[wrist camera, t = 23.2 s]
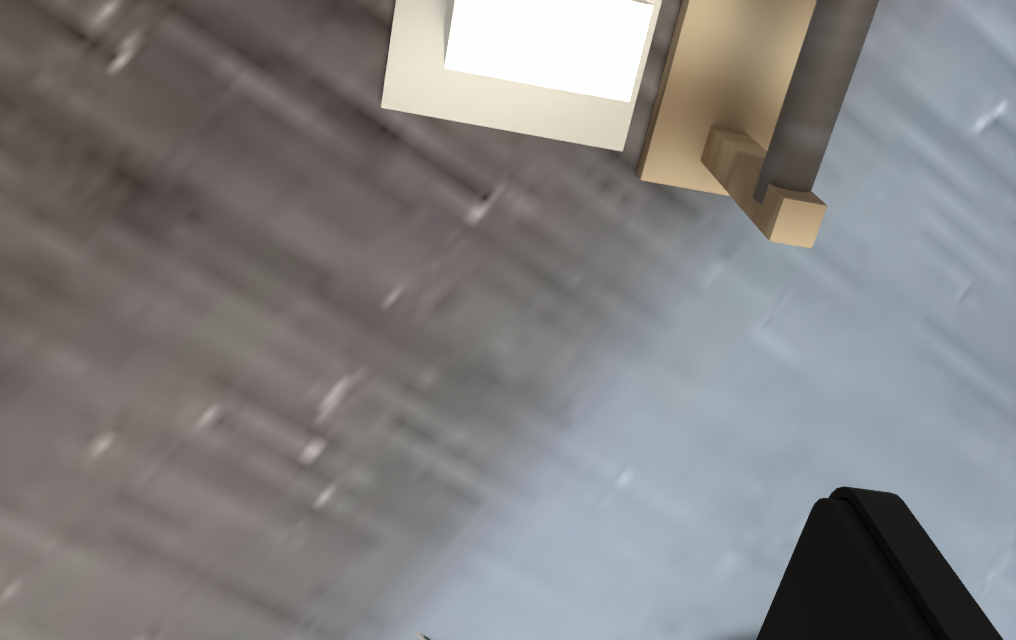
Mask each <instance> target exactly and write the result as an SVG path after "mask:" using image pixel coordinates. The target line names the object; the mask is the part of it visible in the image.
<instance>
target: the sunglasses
mask: <svg viewBox="0 0 1016 640" xmlns="http://www.w3.org/2000/svg"><path fill="white" fill-rule="evenodd" d="M416 635H417V637H418V638H419V639H420V640H430V639H428V638H427V637H425V636H424V635H422V634H420V633H419V632H417V633H416Z"/></svg>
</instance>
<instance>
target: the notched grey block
mask: <svg viewBox="0 0 1016 640" xmlns="http://www.w3.org/2000/svg"><path fill="white" fill-rule="evenodd" d="M652 9H653V5H651V4H650V3H649V2H647V1H646V0H448V3H447V9H446V16H445V22H444V68H446V69H452V70H457V71H463V72H468V73H474V74H479V75H485V76H490V77H496V78H501V79H506V80H512V81H517V82H523V83H528V84H534V85H539V86H545V87H550V88H556V89H561V90H567V91H572V92H578V93H583V94H588V95H594V96H599V97H605V98H610V99H616V100H621V101H627V102H629V101H630V97H631V93H632V89H633V85H634V81H635V77H636V73H637V69H638V65H639V61H640V57H641V53H642V49H643V45H644V41H645V37H646V33H647V29H648V25H649V21H650V17H651V13H652Z"/></svg>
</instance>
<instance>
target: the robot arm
mask: <svg viewBox="0 0 1016 640" xmlns="http://www.w3.org/2000/svg"><path fill="white" fill-rule="evenodd" d="M756 640H1003V639H1002V637H1001V636H1000V634H999V633H998V632H997V630H996V629H995V628H994V626H993V625H992V623H991V622H990V621H989V619H988V618H987V616H986V615H985V614H984V612H983V611H982V609H981V608H980V607H979V605H978V604H977V603H976V601H975V600H974V598H973V597H972V596H971V594H970V593H969V591H968V590H967V589H966V587H965V586H964V584H963V583H962V582H961V580H960V579H959V578H958V576H957V575H956V573H955V572H954V571H953V569H952V568H951V566H950V565H949V564H948V562H947V561H946V559H945V558H944V557H943V555H942V554H941V553H940V551H939V550H938V548H937V547H936V546H935V544H934V543H933V541H932V540H931V539H930V537H929V536H928V534H927V533H926V532H925V530H924V529H923V528H922V526H921V525H920V523H919V522H918V521H917V519H916V518H915V516H914V515H913V514H912V512H911V511H910V510H909V508H908V507H907V505H906V504H905V503H904V501H903V500H902V499H901V498H900V497H899V496H898V495H896V494H893V493H889V492H882V491H874V490H867V489H859V488H851V487H840V488H837V489H836V490H835V491H833V492H832V493H831V495H830V496H829V498H822V499H819V500H818V501H817V502H816V503H815V504H814V506H813V508H812V510H811V512H810V514H809V517H808V519H807V521H806V524H805V526H804V528H803V531H802V533H801V535H800V538H799V540H798V543H797V545H796V547H795V550H794V552H793V554H792V557H791V559H790V561H789V564H788V566H787V568H786V571H785V573H784V576H783V578H782V580H781V583H780V585H779V587H778V590H777V592H776V594H775V597H774V599H773V602H772V604H771V606H770V609H769V611H768V613H767V616H766V618H765V620H764V623H763V625H762V627H761V630H760V632H759V635H758V637H757V639H756Z"/></svg>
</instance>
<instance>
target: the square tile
mask: <svg viewBox="0 0 1016 640" xmlns="http://www.w3.org/2000/svg"><path fill="white" fill-rule="evenodd" d="M646 1H647V2H649V3H650V4H651V5H653V9H652V13H651V17H650V21H649V25H648V29H647V33H646V37H645V41H644V45H643V49H642V53H641V57H640V61H639V65H638V69H637V73H636V77H635V81H634V85H633V89H632V93H631V97H630V101H629V102H627V101H621V100H616V99H610V98H605V97H599V96H594V95H588V94H583V93H578V92H572V91H567V90H561V89H556V88H550V87H545V86H539V85H534V84H528V83H523V82H517V81H512V80H506V79H501V78H496V77H490V76H485V75H479V74H474V73H468V72H463V71H457V70H452V69H446V68H444V22H445V16H446V9H447V3H448V0H396V4H395V11H394V18H393V25H392V32H391V40H390V47H389V54H388V61H387V68H386V75H385V82H384V89H383V96H382V103H381V108H385V109H391V110H396V111H402V112H407V113H413V114H418V115H424V116H430V117H435V118H441V119H446V120H452V121H457V122H463V123H468V124H474V125H479V126H485V127H490V128H496V129H501V130H507V131H512V132H518V133H523V134H529V135H534V136H540V137H545V138H551V139H556V140H562V141H567V142H573V143H578V144H584V145H589V146H595V147H600V148H606V149H612V150H617V151H623V148H624V145H625V141H626V137H627V133H628V129H629V125H630V122H631V118H632V114H633V110H634V106H635V102H636V98H637V95H638V91H639V87H640V83H641V79H642V75H643V72H644V68H645V64H646V60H647V56H648V52H649V48H650V45H651V41H652V37H653V33H654V29H655V25H656V22H657V18H658V14H659V10H660V6H661V2H662V0H646Z"/></svg>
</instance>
